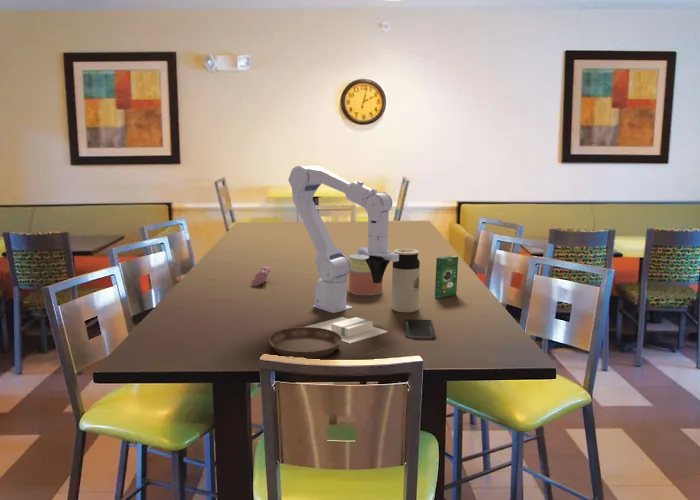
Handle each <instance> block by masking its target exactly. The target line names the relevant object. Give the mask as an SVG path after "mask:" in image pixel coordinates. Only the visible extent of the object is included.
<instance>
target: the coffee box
mask: <svg viewBox="0 0 700 500" xmlns="http://www.w3.org/2000/svg"><path fill="white" fill-rule="evenodd" d="M435 258H436V260H435V261H436V262H435V263H436V264H435V283H434V284H435V285H434V297H435V298H437V299H442V298H444V299H445V298H448V297H452V296H453V297H454V296H456V295H457V293H458V291H457V289H458V272H459V271H458V270H459V269H458V267H459V256H457V255H446V256H440V257H435Z"/></svg>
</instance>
